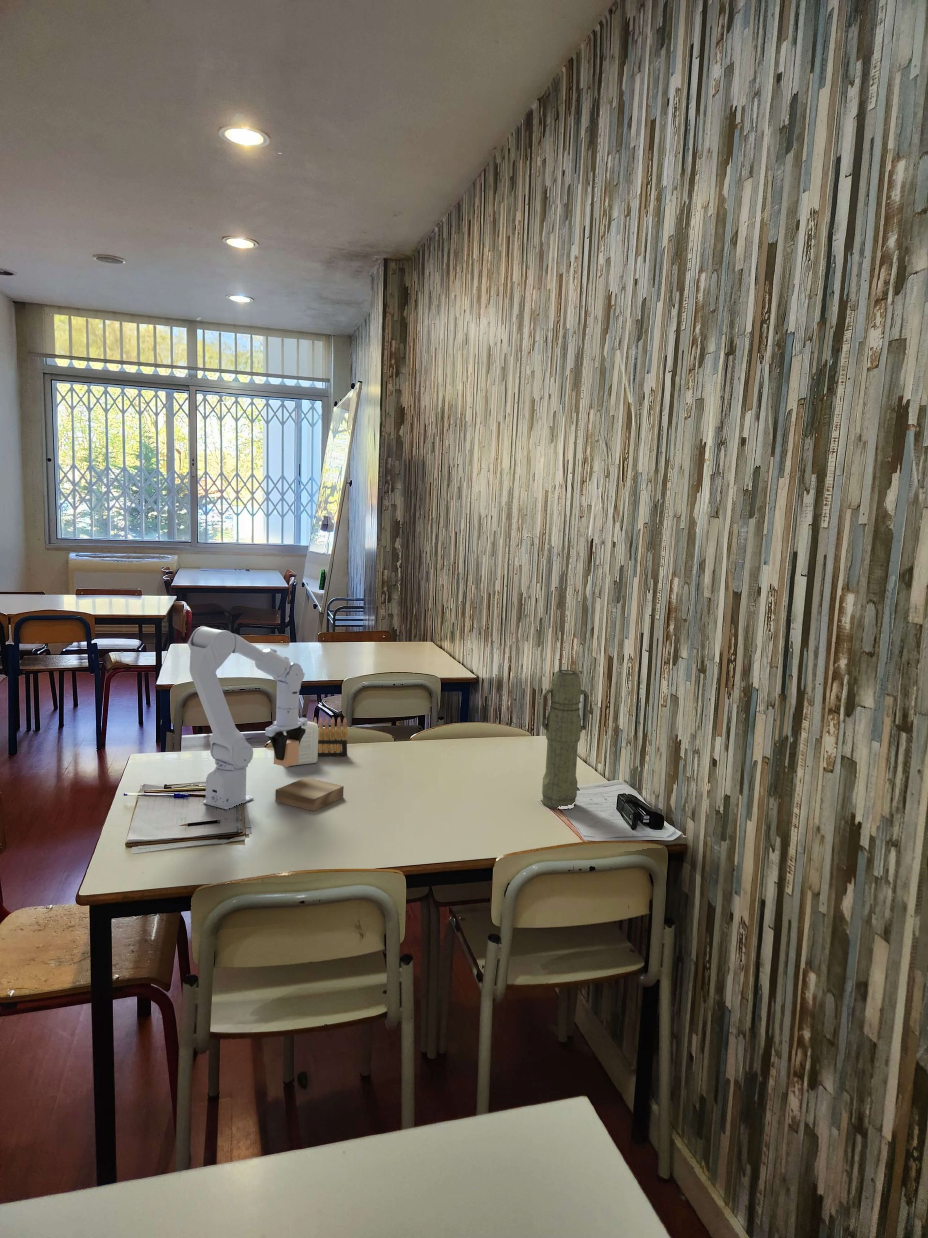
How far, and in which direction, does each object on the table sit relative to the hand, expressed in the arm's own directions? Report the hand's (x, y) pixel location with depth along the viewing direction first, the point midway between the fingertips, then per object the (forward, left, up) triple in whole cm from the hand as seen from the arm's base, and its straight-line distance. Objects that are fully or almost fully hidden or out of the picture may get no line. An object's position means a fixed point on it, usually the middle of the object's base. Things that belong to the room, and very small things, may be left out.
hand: (286, 757), depth 208 cm
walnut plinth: (-5, -12, -8) cm, 15 cm away
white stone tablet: (+17, +9, -8) cm, 21 cm away
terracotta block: (0, 0, -2) cm, 2 cm away
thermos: (+29, -66, -8) cm, 73 cm away
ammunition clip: (+28, +7, -8) cm, 30 cm away
